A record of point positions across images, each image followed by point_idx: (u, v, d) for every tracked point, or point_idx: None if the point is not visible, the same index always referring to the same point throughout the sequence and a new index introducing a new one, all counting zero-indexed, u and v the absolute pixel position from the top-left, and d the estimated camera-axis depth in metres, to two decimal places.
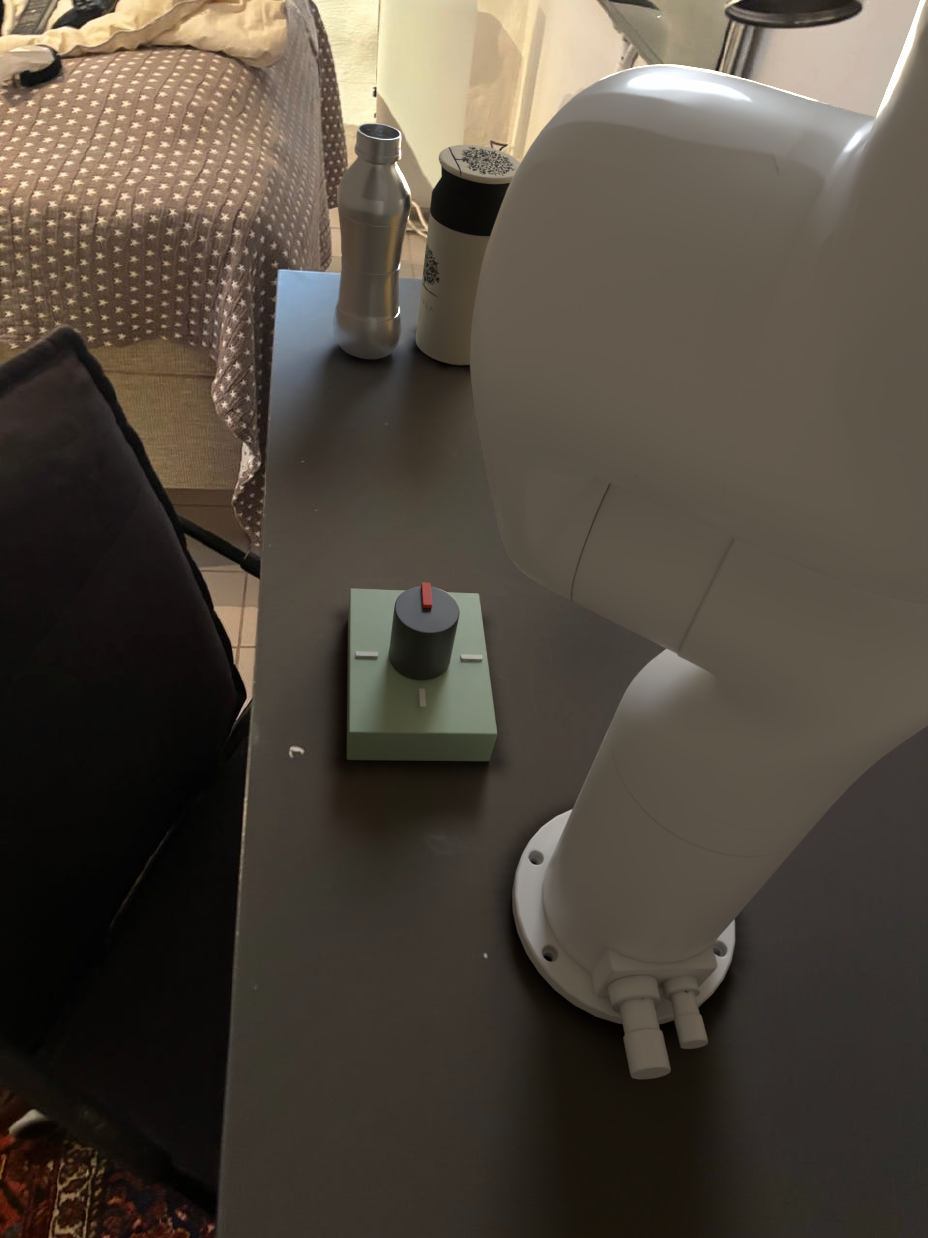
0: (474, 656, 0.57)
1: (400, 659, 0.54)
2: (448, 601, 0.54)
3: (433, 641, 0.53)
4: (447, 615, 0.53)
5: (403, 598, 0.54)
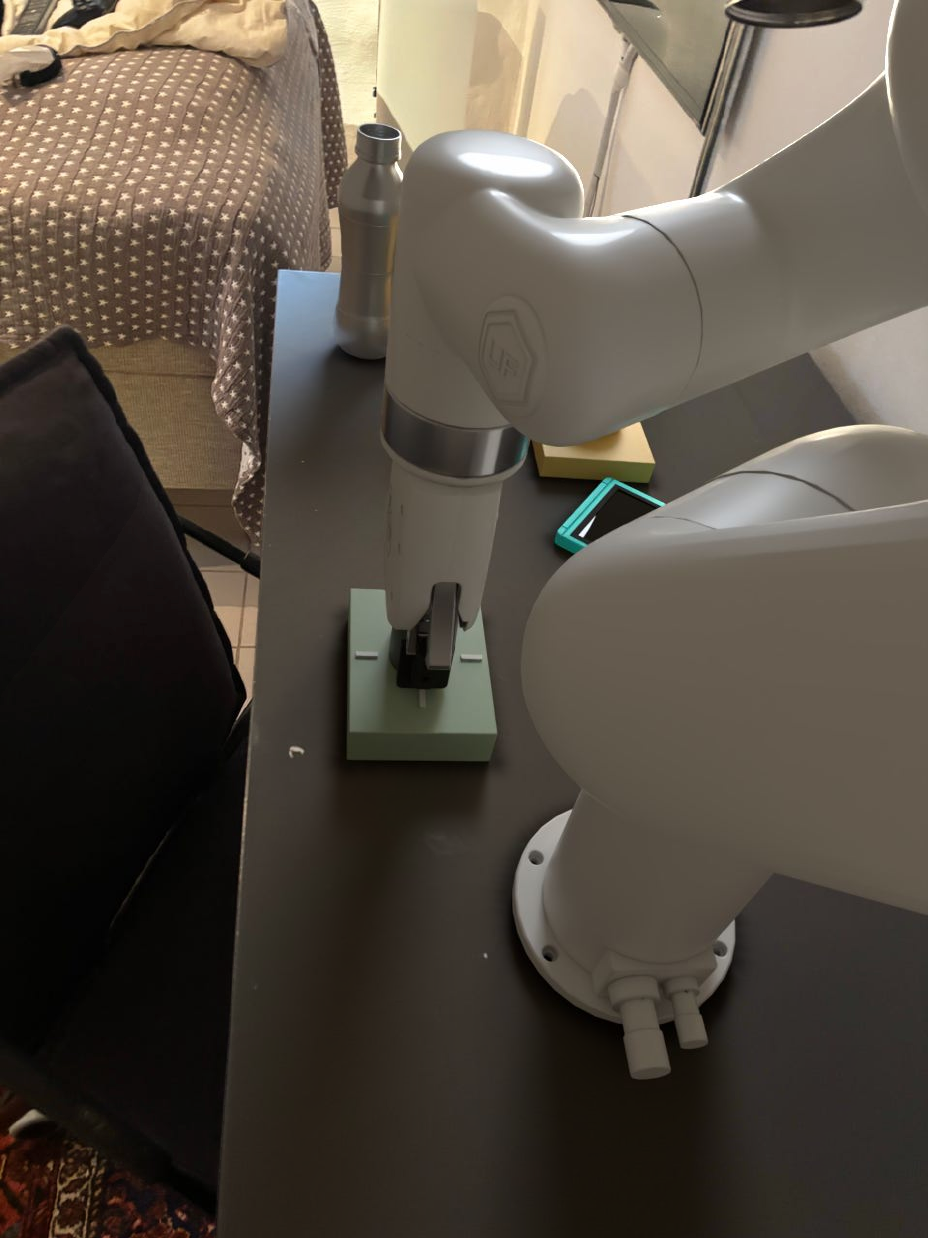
0: (474, 656, 0.57)
1: None
2: None
3: None
4: None
5: None
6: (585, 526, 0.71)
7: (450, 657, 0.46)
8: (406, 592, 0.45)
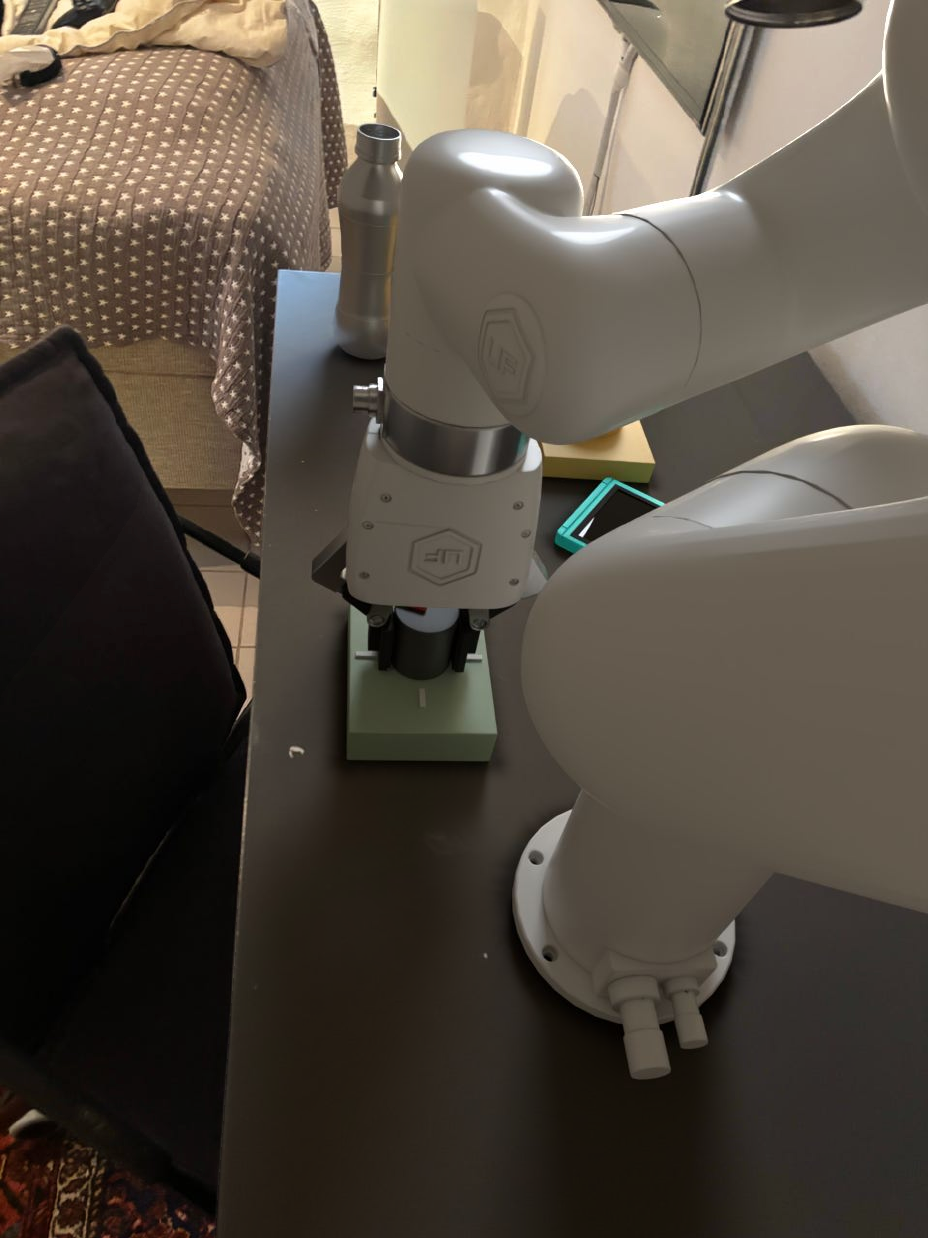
0: (474, 656, 0.57)
1: (436, 665, 0.55)
2: None
3: None
4: None
5: (408, 621, 0.52)
6: (585, 526, 0.71)
7: (544, 567, 0.52)
8: (531, 558, 0.48)
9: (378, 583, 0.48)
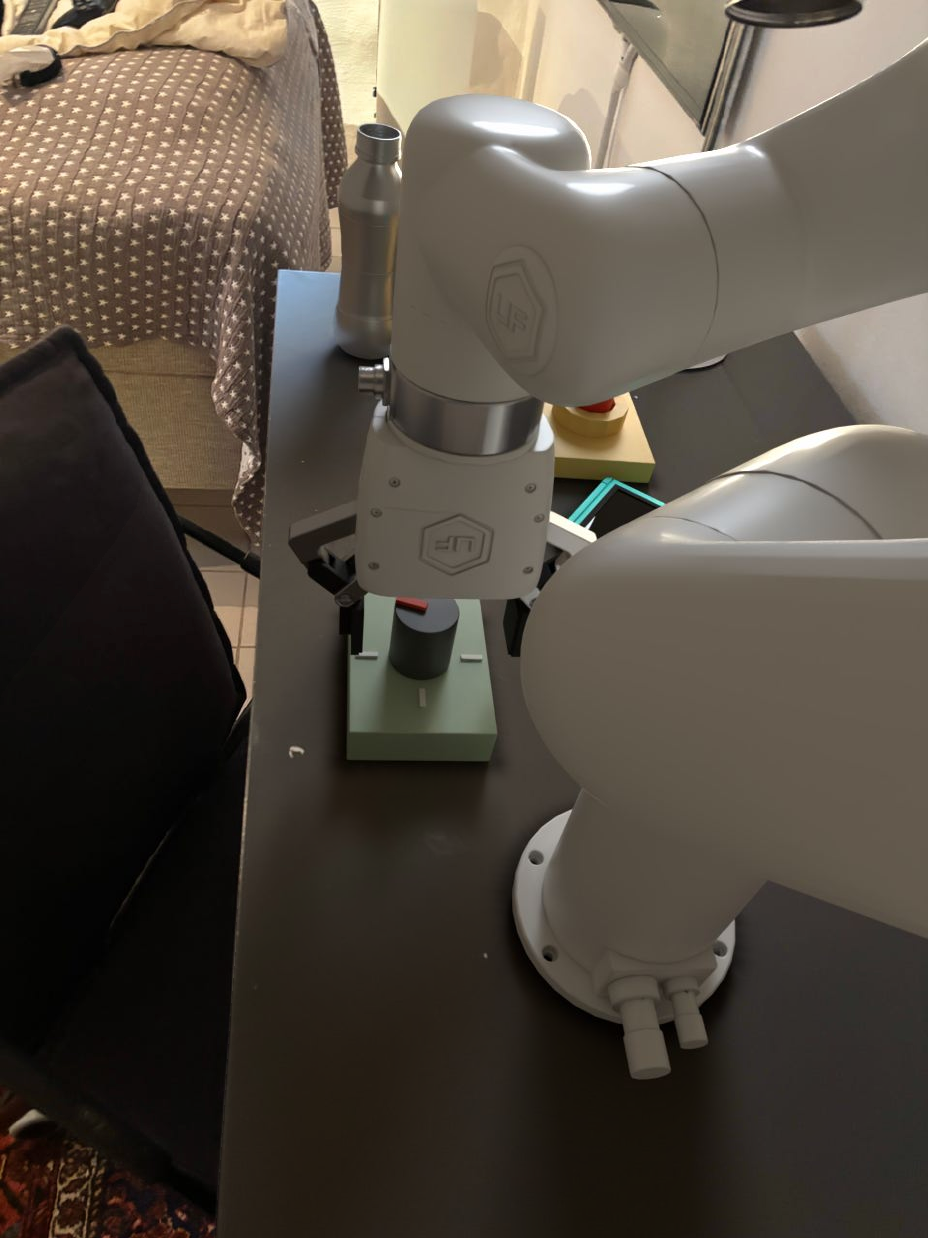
0: (474, 656, 0.57)
1: (436, 665, 0.55)
2: None
3: None
4: None
5: (408, 621, 0.52)
6: (585, 526, 0.71)
7: (589, 531, 0.50)
8: (545, 545, 0.47)
9: (388, 574, 0.46)
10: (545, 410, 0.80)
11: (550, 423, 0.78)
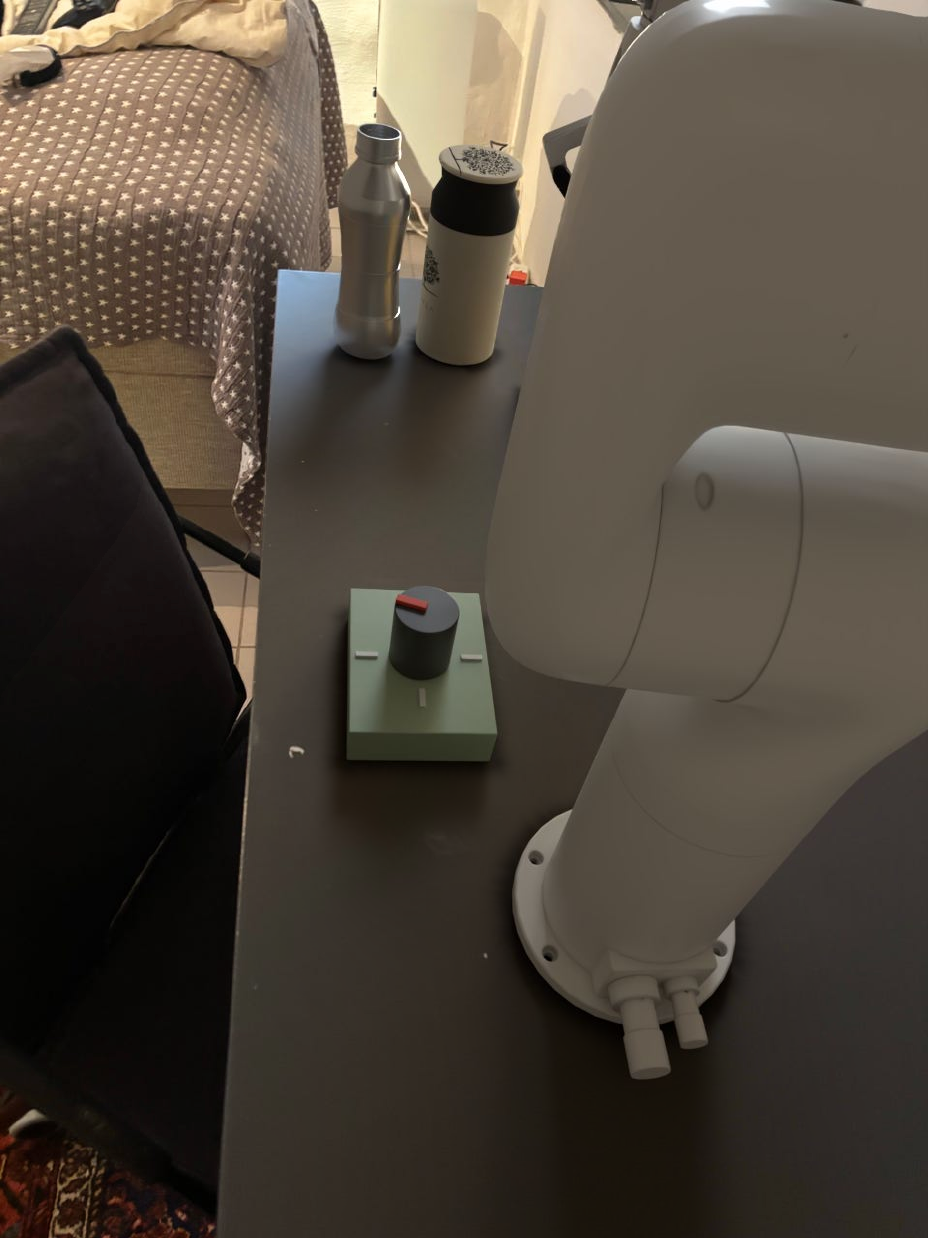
0: (474, 656, 0.57)
1: (436, 665, 0.55)
2: (422, 591, 0.54)
3: None
4: (439, 597, 0.54)
5: (408, 621, 0.52)
6: None
7: None
8: None
9: None
10: None
11: None
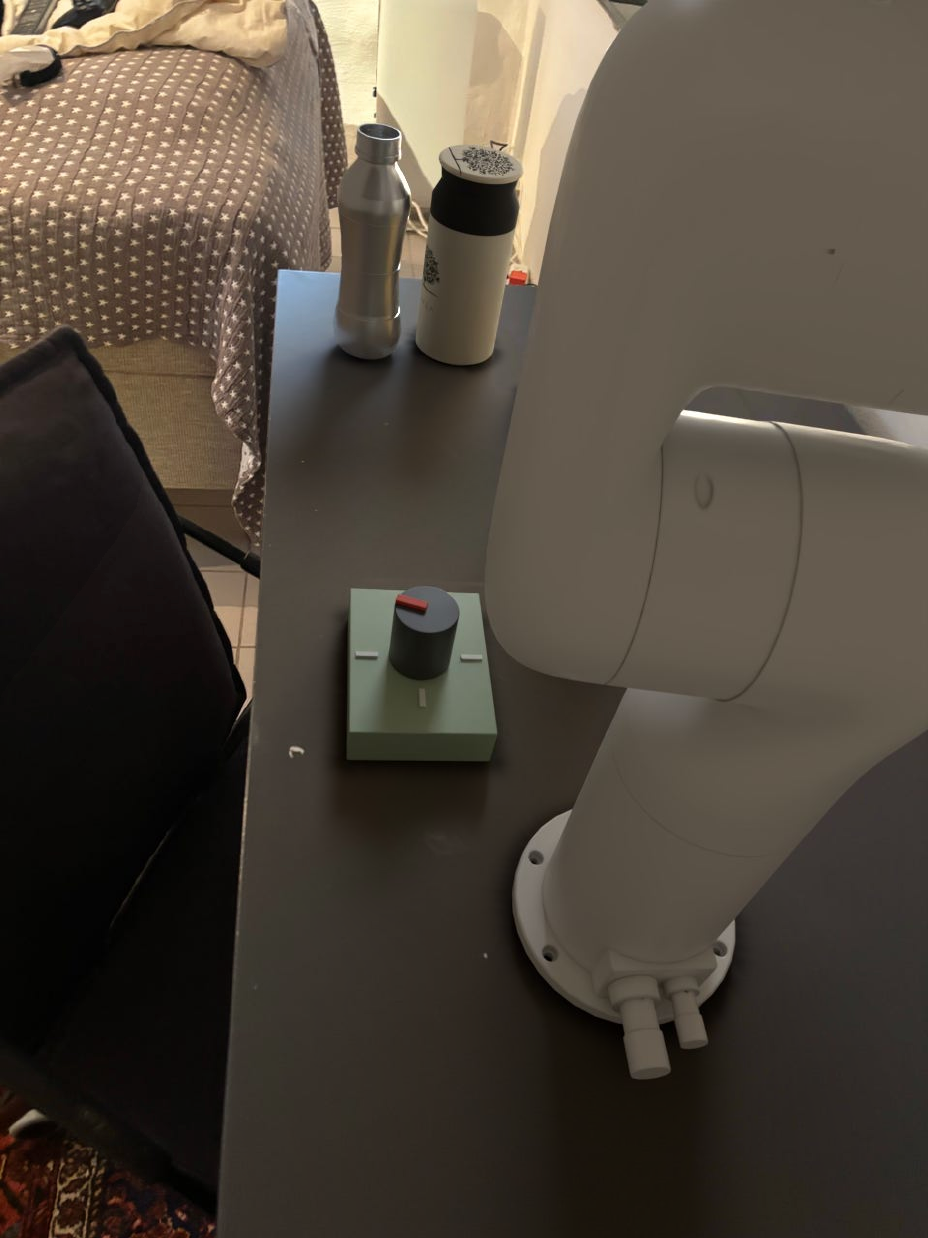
0: (474, 656, 0.57)
1: (436, 665, 0.55)
2: (422, 591, 0.54)
3: None
4: (439, 597, 0.54)
5: (408, 621, 0.52)
6: None
7: None
8: None
9: None
10: None
11: None
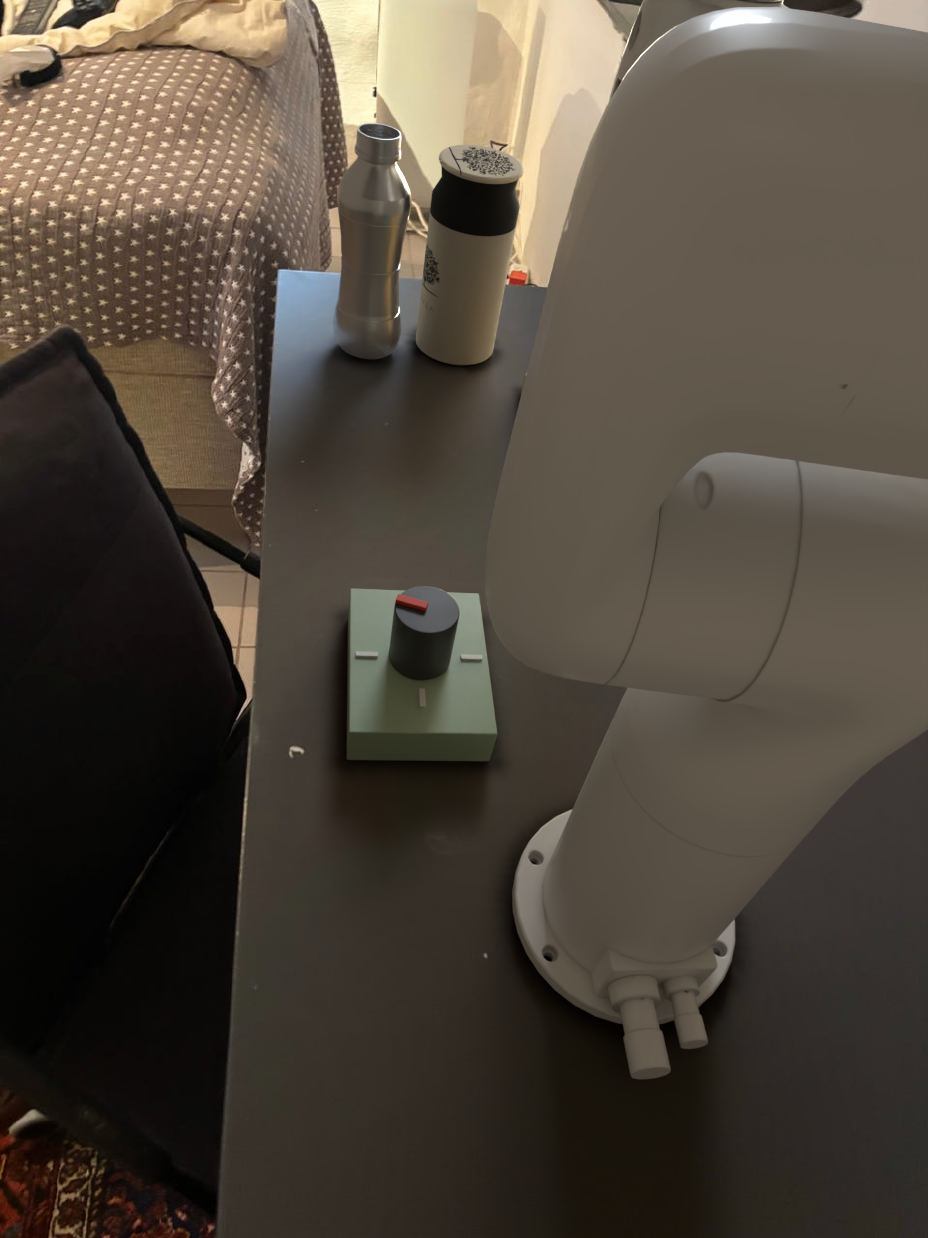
0: (474, 656, 0.57)
1: (436, 665, 0.55)
2: (422, 591, 0.54)
3: None
4: (439, 597, 0.54)
5: (408, 621, 0.52)
6: None
7: None
8: None
9: None
10: None
11: None
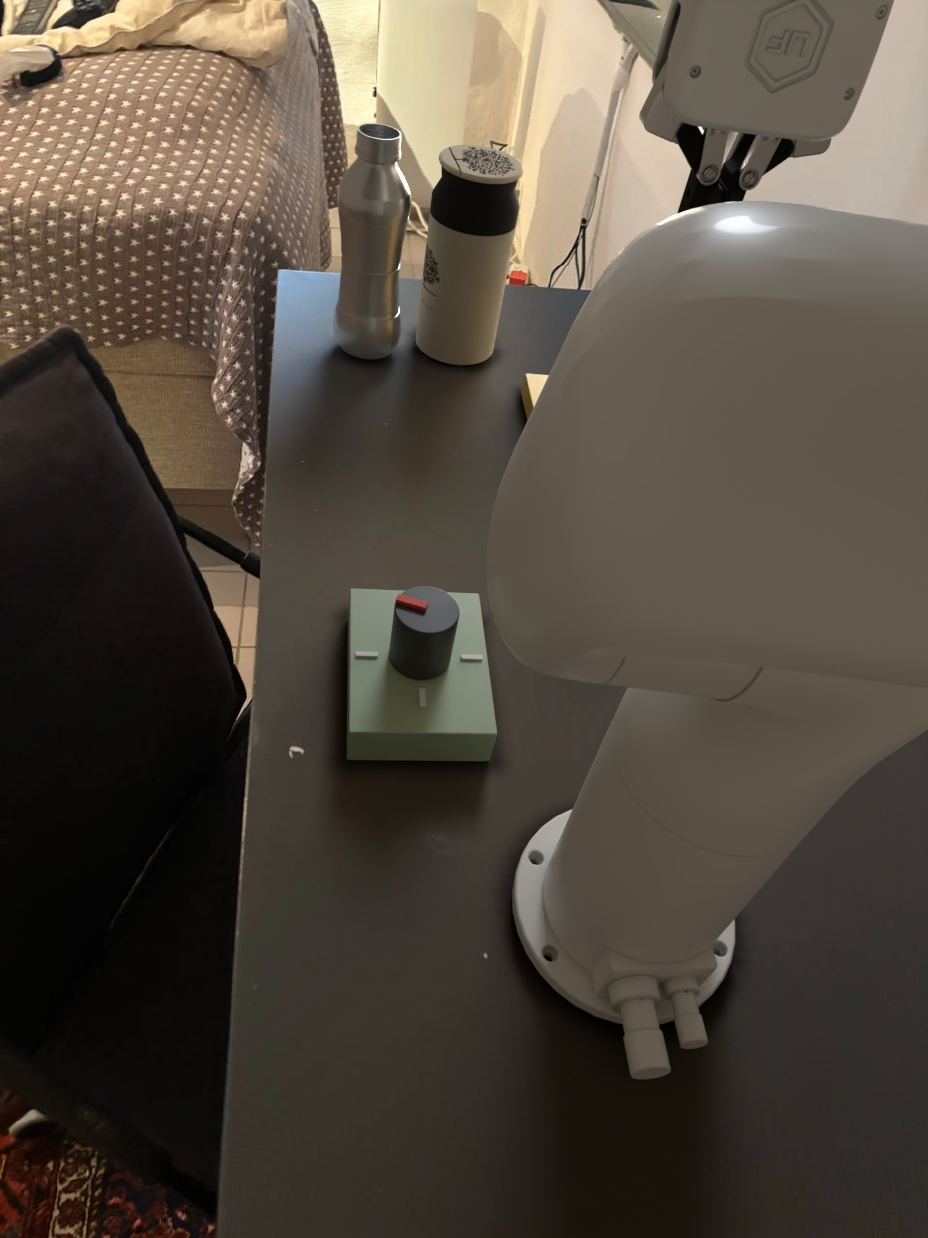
0: (474, 656, 0.57)
1: (436, 665, 0.55)
2: (422, 591, 0.54)
3: None
4: (439, 597, 0.54)
5: (408, 621, 0.52)
6: None
7: None
8: None
9: (708, 84, 0.43)
10: None
11: None
